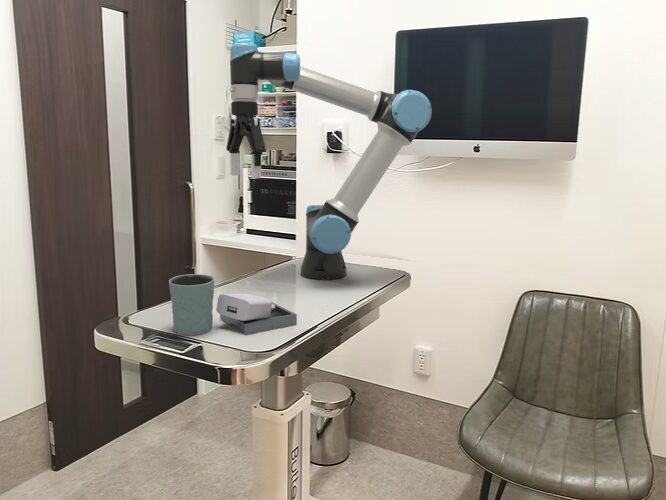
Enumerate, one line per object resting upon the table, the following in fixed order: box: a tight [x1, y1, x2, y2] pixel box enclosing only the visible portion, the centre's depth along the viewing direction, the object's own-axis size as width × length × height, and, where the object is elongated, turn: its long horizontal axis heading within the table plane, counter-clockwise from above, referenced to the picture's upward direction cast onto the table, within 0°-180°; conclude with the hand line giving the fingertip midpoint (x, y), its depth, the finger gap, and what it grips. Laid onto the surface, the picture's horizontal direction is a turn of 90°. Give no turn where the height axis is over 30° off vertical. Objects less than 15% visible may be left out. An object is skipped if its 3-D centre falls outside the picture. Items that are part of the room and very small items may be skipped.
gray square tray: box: [219, 301, 298, 336], centre depth 134 cm, size 14×14×2 cm
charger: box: [216, 293, 275, 321], centre depth 133 cm, size 5×9×15 cm
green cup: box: [168, 273, 215, 336], centre depth 127 cm, size 10×10×12 cm
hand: (245, 176), depth 161 cm, fingers open, 13 cm apart
